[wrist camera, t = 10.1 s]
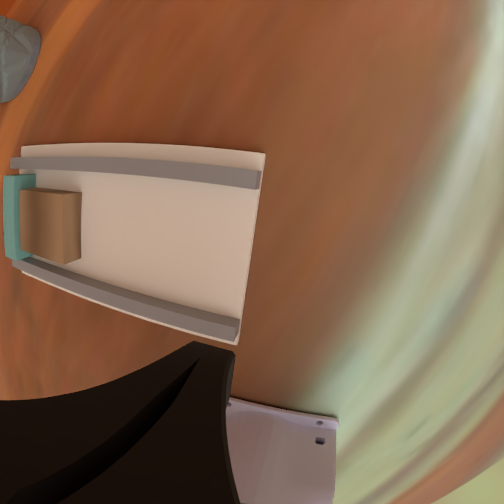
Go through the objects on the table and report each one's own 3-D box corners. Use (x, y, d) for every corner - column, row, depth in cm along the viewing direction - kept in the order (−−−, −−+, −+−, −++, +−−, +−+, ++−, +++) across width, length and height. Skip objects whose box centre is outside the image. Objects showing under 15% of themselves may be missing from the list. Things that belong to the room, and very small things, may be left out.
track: (265, 154, 16) (255, 149, 14) (238, 341, 20) (226, 366, 17) (25, 146, 20) (1, 146, 17) (25, 271, 23) (3, 280, 20)
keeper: (82, 192, 19) (63, 194, 17) (81, 258, 20) (64, 265, 18) (36, 187, 20) (19, 189, 18) (36, 244, 21) (20, 249, 19)
